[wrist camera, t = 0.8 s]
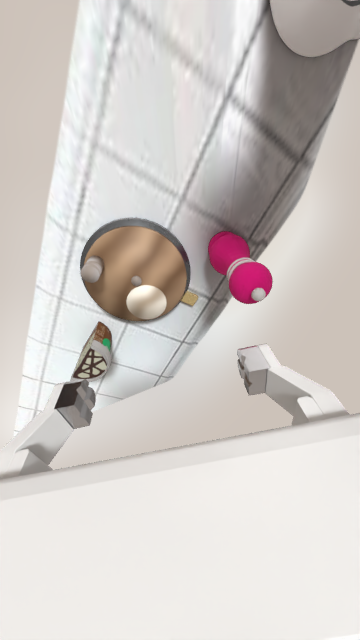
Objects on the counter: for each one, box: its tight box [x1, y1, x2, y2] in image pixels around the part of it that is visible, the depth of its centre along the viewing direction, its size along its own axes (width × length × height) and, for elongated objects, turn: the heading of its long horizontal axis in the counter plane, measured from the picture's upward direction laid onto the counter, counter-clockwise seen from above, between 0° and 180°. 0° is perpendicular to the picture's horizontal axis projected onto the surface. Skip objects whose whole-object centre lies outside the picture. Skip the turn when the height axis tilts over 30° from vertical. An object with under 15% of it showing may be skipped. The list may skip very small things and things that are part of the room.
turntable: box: [81, 226, 187, 321], centre depth 43 cm, size 20×20×6 cm
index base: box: [80, 218, 198, 311], centre depth 47 cm, size 22×25×1 cm
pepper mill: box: [208, 231, 272, 304], centre depth 37 cm, size 7×7×20 cm
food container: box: [70, 322, 112, 382], centre depth 52 cm, size 12×6×10 cm, turn 145°
